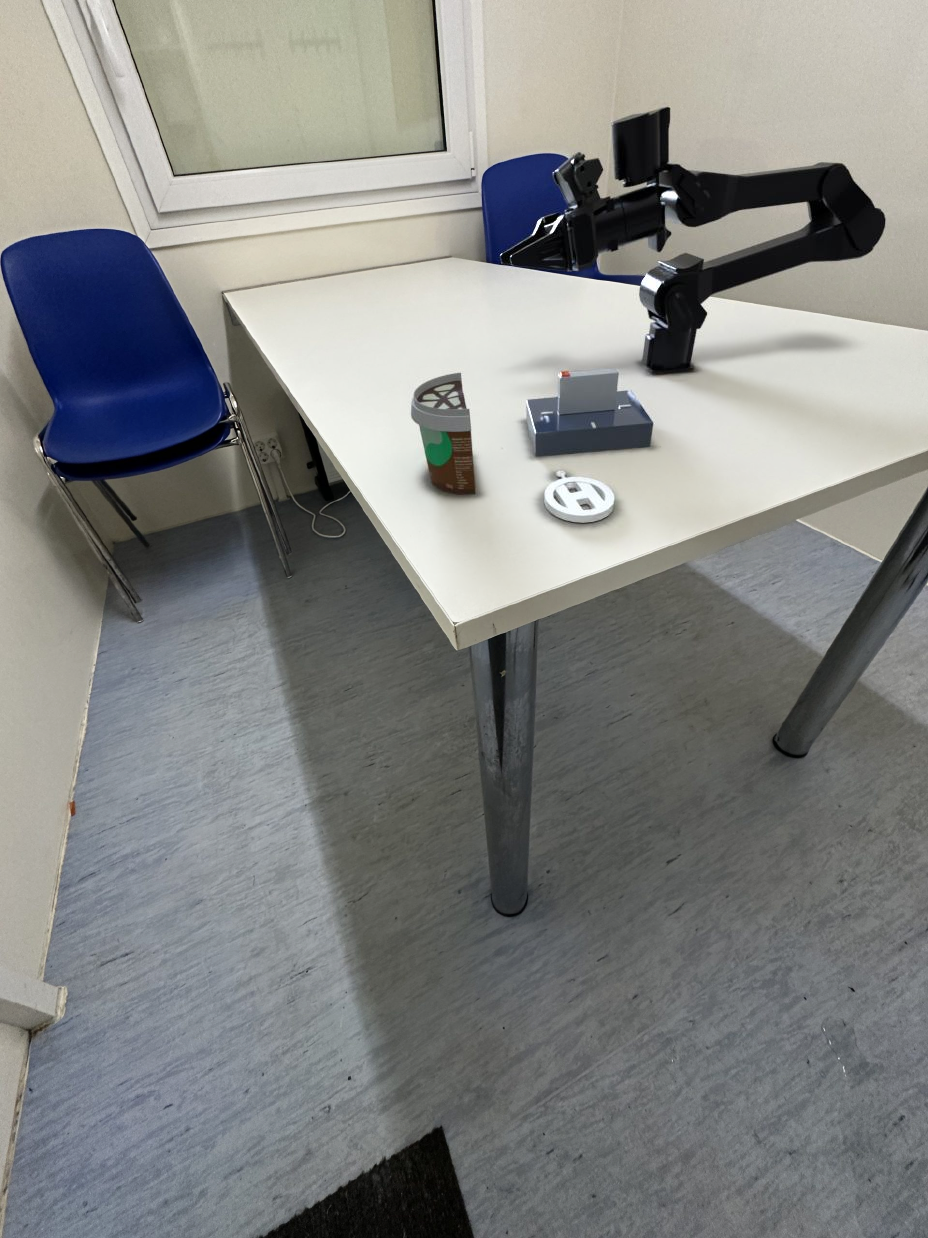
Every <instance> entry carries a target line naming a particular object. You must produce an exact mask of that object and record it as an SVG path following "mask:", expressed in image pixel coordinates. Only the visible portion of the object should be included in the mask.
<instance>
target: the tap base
mask: <svg viewBox="0 0 928 1238" xmlns="http://www.w3.org/2000/svg"><path fill="white" fill-rule="evenodd" d="M525 403H526V406H525V409H526V410H525V413H526V415H525V416H526V417H525V418H526V419H525V420H526V425H527V429H528V433H529V437H530V441H531V445H532V448H533V452H534V456H535V457H546V456H547V457H548V456H558V455H559V456H560V455H568V454H582V453H591V452H593V453H594V452H603V451H604V452H605V451H614V450H616V451H617V450H626V449H627V450H628V449H639V448H648V447H649V448H650V447H651V443H652V438H653V437H652V435H653V429H654V421H653V420H652V418H651V417H650V415H649V414H648V412H647V411H646V409H645V408H644V407H643V406H642V404H641V402H640V401H639V399H638V398H637V396H636V395H635V393H634V392H633V391H632V389H627V390H617V396H616V406H615V410H606V411H595V412H584V413H573V414H562V415H559V413H558V410H557V405H558V396H552V397H540V398H529V399H526V400H525Z"/></svg>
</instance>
